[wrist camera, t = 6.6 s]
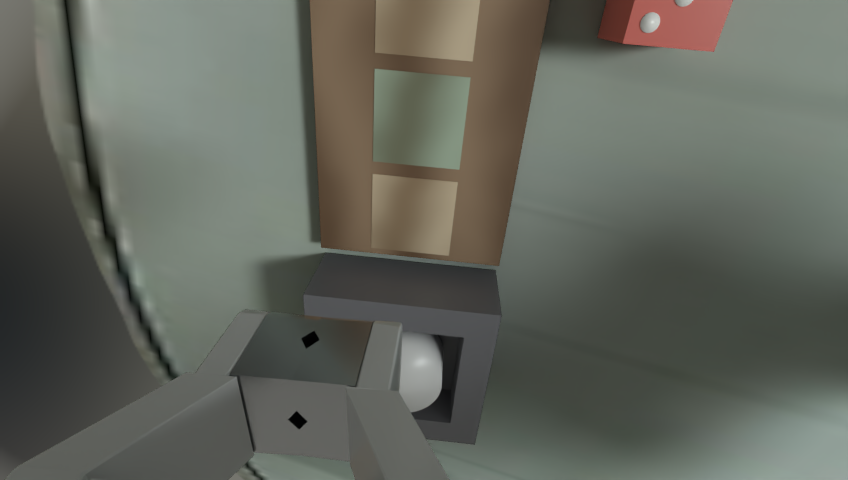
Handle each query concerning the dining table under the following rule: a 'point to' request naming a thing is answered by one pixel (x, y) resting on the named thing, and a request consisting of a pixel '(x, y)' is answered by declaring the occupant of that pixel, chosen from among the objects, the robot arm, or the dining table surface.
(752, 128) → the dining table surface
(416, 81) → the board
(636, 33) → the die
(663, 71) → the dining table surface
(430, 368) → the push dome
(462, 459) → the dining table surface
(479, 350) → the dome housing
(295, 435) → the robot arm
